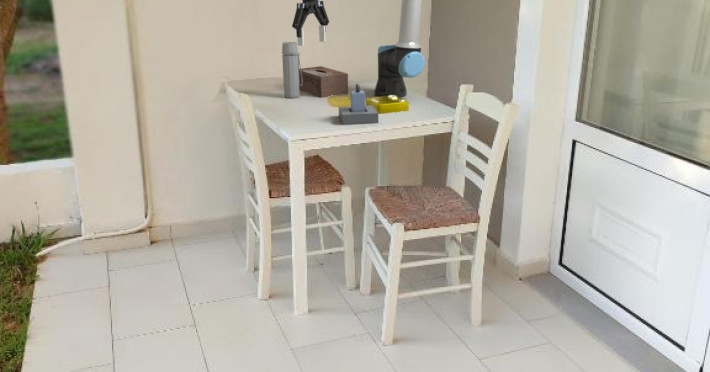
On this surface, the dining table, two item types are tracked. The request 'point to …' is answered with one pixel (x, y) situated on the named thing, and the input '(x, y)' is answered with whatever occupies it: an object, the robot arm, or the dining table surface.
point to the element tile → (388, 104)
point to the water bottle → (291, 69)
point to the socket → (358, 116)
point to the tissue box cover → (323, 81)
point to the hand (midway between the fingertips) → (311, 43)
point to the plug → (357, 100)
